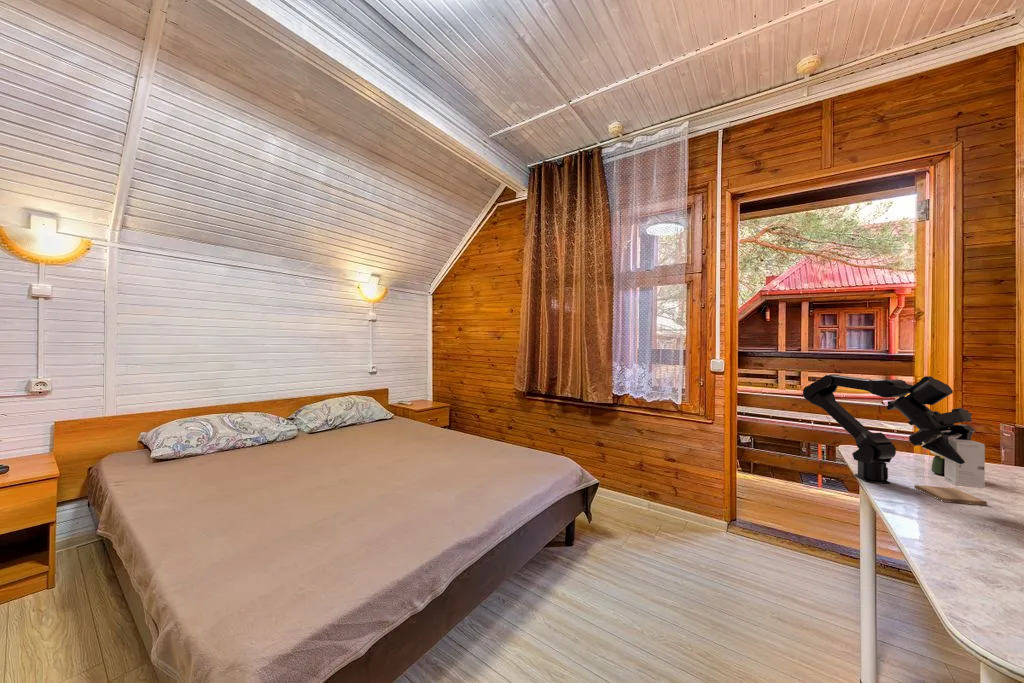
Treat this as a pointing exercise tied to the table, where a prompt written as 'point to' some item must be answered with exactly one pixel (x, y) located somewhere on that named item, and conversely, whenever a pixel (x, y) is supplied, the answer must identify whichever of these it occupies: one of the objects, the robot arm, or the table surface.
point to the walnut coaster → (950, 494)
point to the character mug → (937, 462)
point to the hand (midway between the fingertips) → (971, 462)
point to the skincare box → (966, 464)
